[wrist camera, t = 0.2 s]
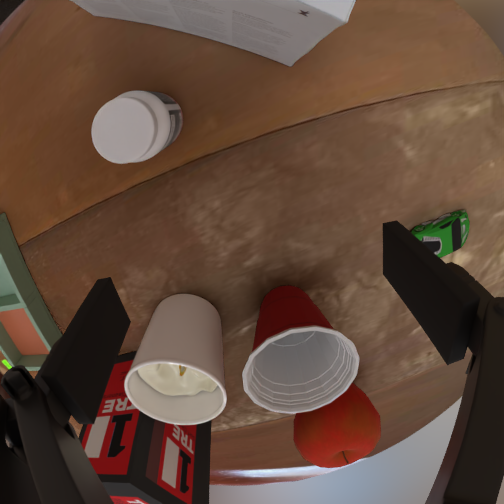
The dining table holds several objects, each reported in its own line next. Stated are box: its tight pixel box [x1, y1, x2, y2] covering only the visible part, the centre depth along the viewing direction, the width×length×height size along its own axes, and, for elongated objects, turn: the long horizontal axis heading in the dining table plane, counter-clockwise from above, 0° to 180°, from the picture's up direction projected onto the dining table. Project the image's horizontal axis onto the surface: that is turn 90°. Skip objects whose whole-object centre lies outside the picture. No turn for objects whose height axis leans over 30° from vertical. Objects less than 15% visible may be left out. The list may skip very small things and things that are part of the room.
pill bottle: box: [92, 90, 183, 164], centre depth 24 cm, size 6×6×10 cm
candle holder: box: [124, 294, 227, 425], centre depth 33 cm, size 10×10×12 cm
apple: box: [294, 383, 381, 468], centre depth 39 cm, size 12×12×14 cm
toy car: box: [411, 210, 469, 258], centre depth 34 cm, size 10×5×2 cm, turn 111°
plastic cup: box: [242, 285, 360, 414], centre depth 32 cm, size 11×11×12 cm
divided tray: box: [0, 213, 63, 371], centre depth 34 cm, size 22×12×4 cm, turn 11°
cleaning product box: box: [79, 351, 211, 504], centre depth 35 cm, size 16×9×20 cm, turn 20°
